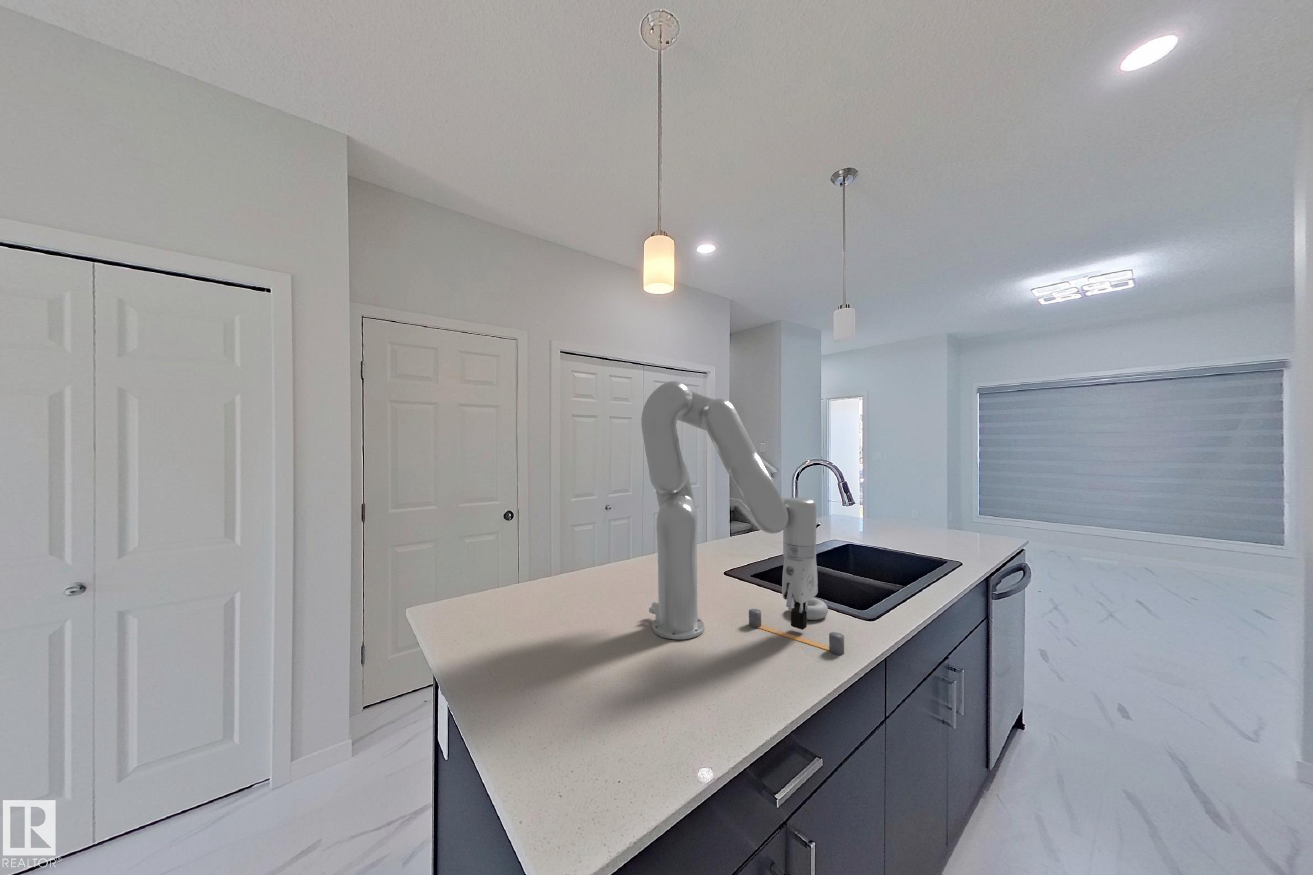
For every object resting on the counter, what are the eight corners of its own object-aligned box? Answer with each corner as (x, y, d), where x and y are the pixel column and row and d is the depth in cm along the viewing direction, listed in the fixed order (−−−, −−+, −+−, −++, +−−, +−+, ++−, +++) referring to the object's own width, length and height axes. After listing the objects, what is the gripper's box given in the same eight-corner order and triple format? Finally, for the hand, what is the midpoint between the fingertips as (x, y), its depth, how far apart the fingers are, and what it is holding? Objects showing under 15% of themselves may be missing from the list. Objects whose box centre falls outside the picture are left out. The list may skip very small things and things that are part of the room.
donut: (827, 625, 110) (829, 609, 119) (826, 611, 110) (829, 597, 119) (785, 618, 114) (790, 604, 123) (785, 605, 114) (790, 592, 123)
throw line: (746, 625, 110) (746, 611, 110) (752, 621, 112) (752, 607, 112) (841, 656, 94) (840, 639, 94) (846, 651, 96) (846, 634, 96)
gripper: (800, 559, 98) (799, 642, 98) (827, 547, 109) (826, 622, 109) (769, 553, 103) (768, 632, 103) (798, 542, 114) (797, 613, 114)
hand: (798, 626), depth 106 cm, fingers closed
